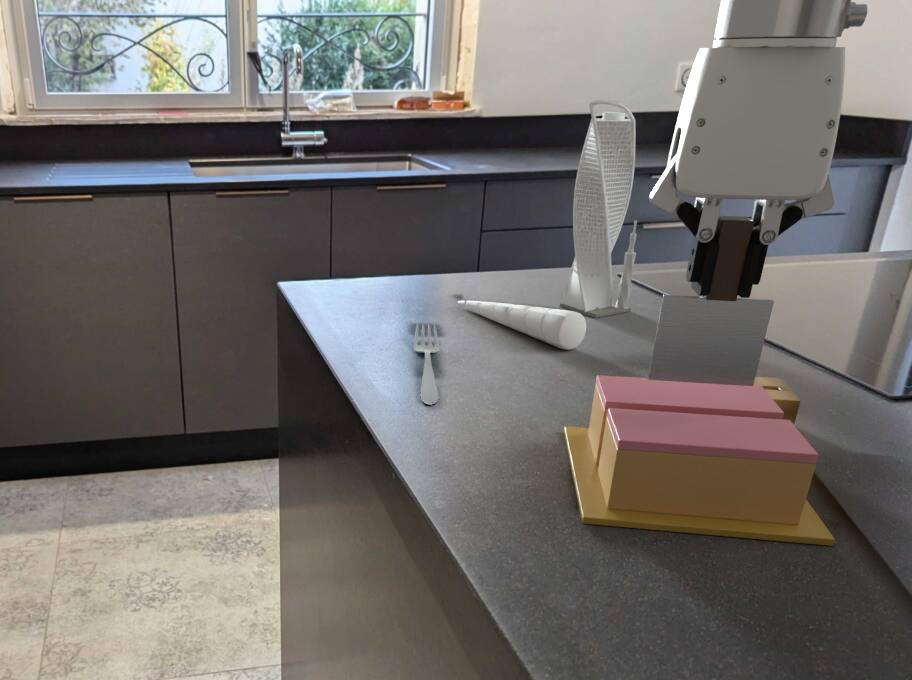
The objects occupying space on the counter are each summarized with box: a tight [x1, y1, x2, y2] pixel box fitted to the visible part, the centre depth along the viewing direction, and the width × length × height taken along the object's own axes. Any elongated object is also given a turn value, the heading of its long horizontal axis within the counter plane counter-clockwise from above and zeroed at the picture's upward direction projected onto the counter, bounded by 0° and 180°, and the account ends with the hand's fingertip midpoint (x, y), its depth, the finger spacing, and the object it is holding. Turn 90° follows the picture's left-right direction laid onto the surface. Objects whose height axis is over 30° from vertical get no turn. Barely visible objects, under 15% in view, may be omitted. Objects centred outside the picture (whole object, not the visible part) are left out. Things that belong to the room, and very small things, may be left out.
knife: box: [647, 215, 775, 386], centre depth 64 cm, size 8×2×13 cm, turn 79°
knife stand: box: [754, 376, 802, 425], centre depth 81 cm, size 12×6×4 cm, turn 79°
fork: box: [413, 323, 440, 404], centre depth 97 cm, size 3×24×2 cm, turn 174°
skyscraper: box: [559, 99, 638, 319], centre depth 114 cm, size 8×8×28 cm
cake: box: [563, 374, 836, 547], centre depth 69 cm, size 18×18×7 cm
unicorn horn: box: [457, 300, 587, 351], centre depth 111 cm, size 5×24×5 cm, turn 24°
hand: (719, 290), depth 63 cm, fingers closed on knife, 2 cm apart
